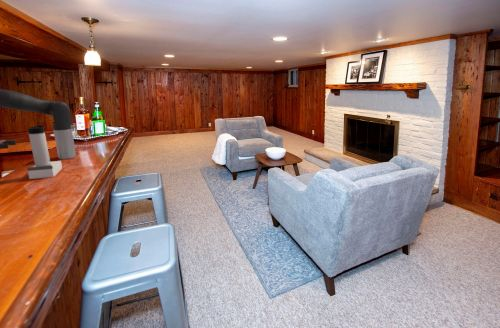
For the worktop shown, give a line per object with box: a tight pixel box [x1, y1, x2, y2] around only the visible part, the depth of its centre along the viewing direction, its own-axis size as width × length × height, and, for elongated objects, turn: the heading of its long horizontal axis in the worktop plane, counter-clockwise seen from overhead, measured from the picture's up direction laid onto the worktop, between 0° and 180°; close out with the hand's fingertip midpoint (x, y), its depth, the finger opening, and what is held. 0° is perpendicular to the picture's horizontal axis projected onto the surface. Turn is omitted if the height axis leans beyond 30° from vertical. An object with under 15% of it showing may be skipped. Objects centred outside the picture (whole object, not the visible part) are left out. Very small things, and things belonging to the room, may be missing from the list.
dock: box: [26, 160, 63, 180], centre depth 149 cm, size 16×10×6 cm, turn 19°
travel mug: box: [27, 124, 51, 167], centre depth 144 cm, size 6×7×20 cm
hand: (11, 144), depth 140 cm, fingers open, 8 cm apart
